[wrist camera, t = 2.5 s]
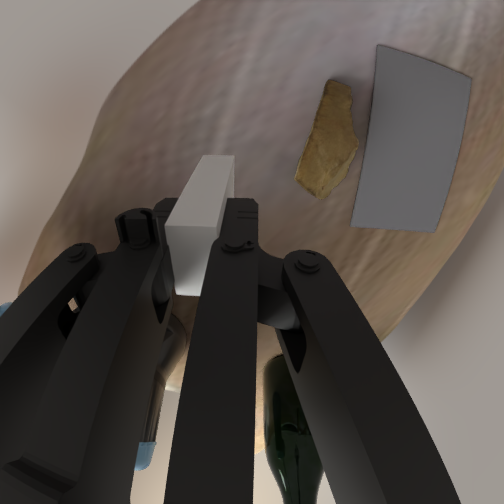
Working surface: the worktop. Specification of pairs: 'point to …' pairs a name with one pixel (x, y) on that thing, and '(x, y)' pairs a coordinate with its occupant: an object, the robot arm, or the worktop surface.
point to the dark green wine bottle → (289, 437)
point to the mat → (410, 143)
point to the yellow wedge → (328, 143)
